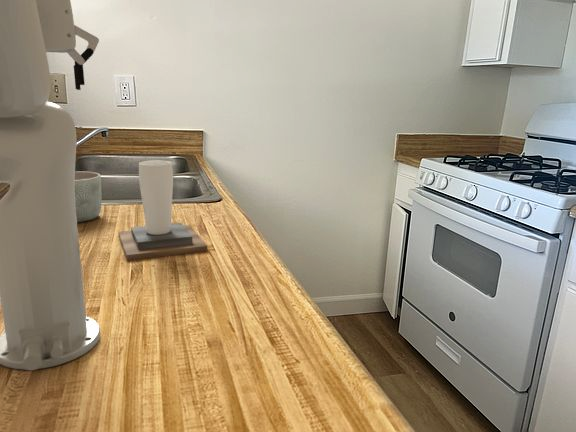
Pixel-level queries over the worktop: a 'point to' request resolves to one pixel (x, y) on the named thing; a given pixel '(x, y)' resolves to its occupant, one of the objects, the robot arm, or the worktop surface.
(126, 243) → the base
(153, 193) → the drinking glass
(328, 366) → the worktop surface
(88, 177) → the planter
